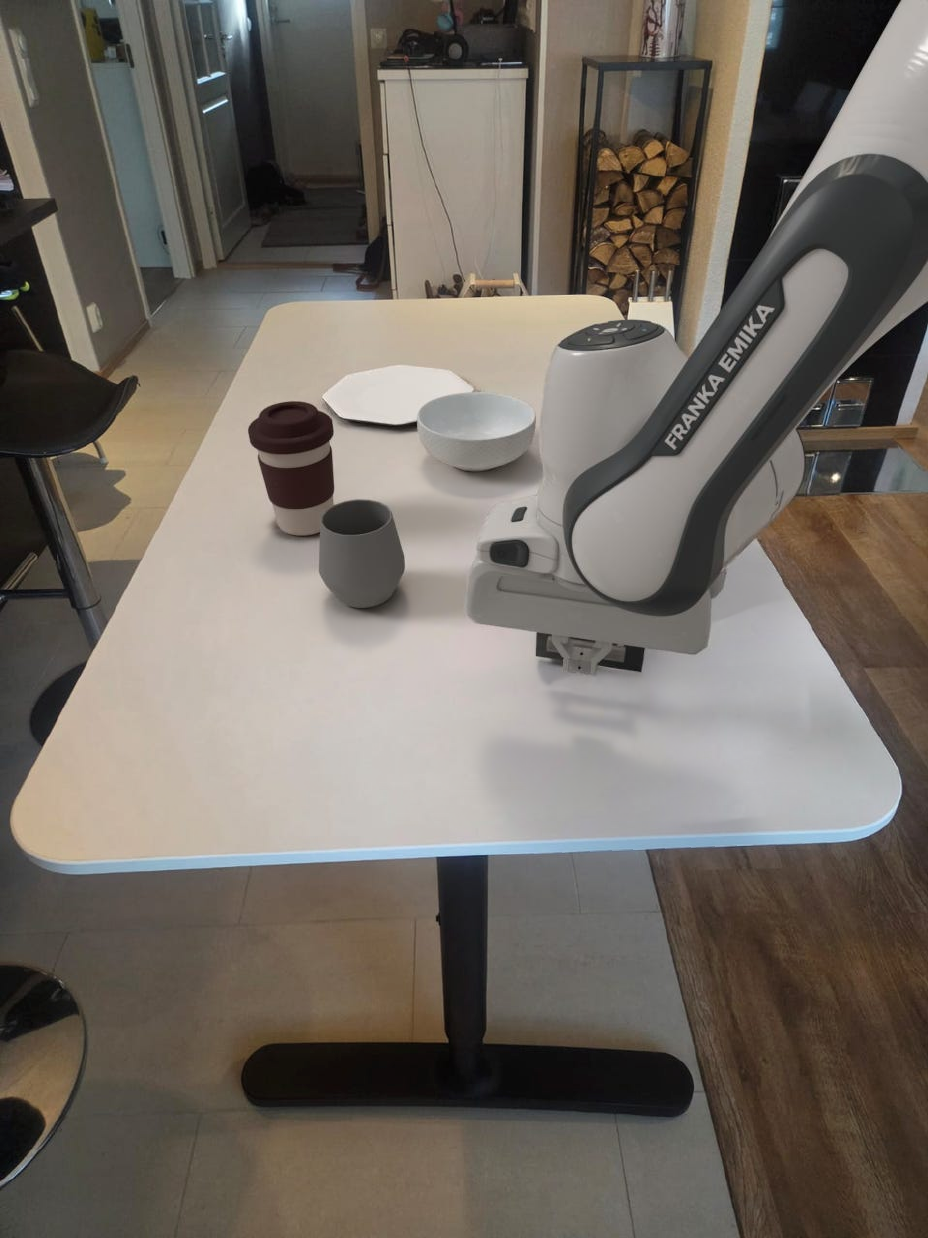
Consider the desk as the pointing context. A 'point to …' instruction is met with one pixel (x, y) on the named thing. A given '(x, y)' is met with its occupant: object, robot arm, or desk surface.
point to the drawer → (616, 658)
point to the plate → (391, 393)
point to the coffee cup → (295, 463)
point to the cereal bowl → (476, 429)
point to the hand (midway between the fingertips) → (580, 669)
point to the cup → (360, 552)
